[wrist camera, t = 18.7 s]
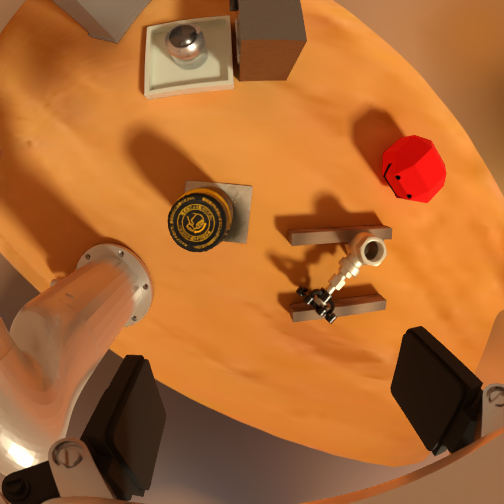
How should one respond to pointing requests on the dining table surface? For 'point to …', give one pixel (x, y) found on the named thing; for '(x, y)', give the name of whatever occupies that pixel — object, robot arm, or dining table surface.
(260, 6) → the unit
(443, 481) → the robot arm
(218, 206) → the condiment
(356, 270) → the valve
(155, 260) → the dining table surface
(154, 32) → the tray
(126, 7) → the cassette tape recorder
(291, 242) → the valve rest
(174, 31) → the cylinder
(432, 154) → the ball
